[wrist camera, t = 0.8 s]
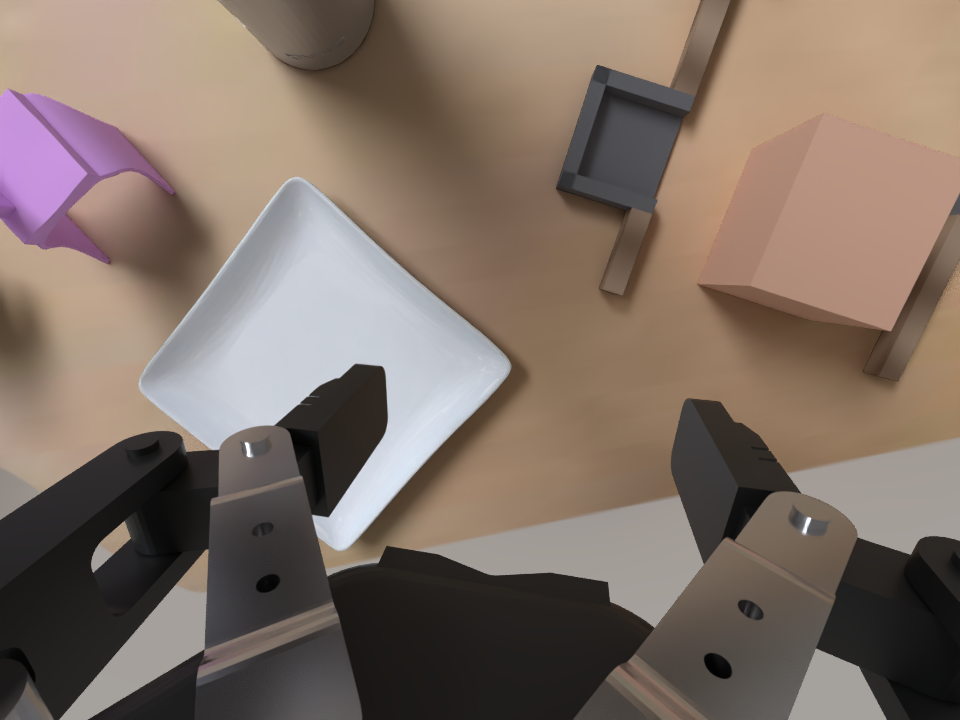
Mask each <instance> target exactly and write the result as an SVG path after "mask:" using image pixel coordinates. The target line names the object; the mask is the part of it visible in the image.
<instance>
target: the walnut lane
mask: <svg viewBox="0 0 960 720" xmlns="http://www.w3.org/2000/svg"><path fill="white" fill-rule="evenodd" d="M729 3H730V0H701V2H700V4H699V7H698V10H697V13H696V16H695V19H694V21H693V24H692V27H691V30H690V33H689V36H688V38H687V41H686V44H685V47H684V50H683V53H682V55H681V58H680V61H679V64H678V67H677V69H676V72H675V75H674V78H673V81H672V84H671V86H670V88H671V89H674V90H678V91H680V92H684V93H687V94H690V95H693V96H696V93H697V91H698V88H699V85H700V82H701V80H702V77H703V74H704V71H705V69H706V66H707V63H708V60H709V58H710V55H711V52H712V49H713V47H714V44H715V41H716V38H717V36H718V33H719V30H720V28H721V25H722V22H723V19H724V17H725V14H726V11H727V8H728V6H729ZM651 216H652V214H651V213H647V212H644V211H641V210H638V209H635V208H631V209H629V210H627V211H626V213H625V216H624V219H623V222H622V225H621V228H620V230H619V233H618V236H617V239H616V242H615V245H614V247H613V250H612V253H611V256H610V259H609V262H608V264H607V267H606V270H605V273H604V276H603V278H602V281H601V284H600V287H599V289H601V290H604V291H607V292H611V293H614V294H617V295H623V293H624V290H625V288H626V285H627V282H628V279H629V277H630V274H631V271H632V268H633V266H634V263H635V260H636V257H637V255H638V252H639V249H640V247H641V244H642V241H643V238H644V236H645V233H646V230H647V227H648V225H649V222H650V219H651ZM959 259H960V215H959V214H957V215H950V216H948V218H947V220H946V222H945V224H944V226H943V228H942V230H941V232H940V234H939V236H938V238H937V240H936V242H935V244H934V246H933V248H932V250H931V252H930V254H929V256H928V258H927V260H926V262H925V264H924V266H923V268H922V270H921V272H920V274H919V276H918V278H917V280H916V282H915V284H914V286H913V288H912V290H911V292H910V294H909V296H908V298H907V300H906V302H905V304H904V306H903V308H902V310H901V312H900V314H899V316H898V318H897V320H896V322H895V324H894V326H893V328H892V330H891V331H884V330H883V331H882V333H881V335H880V337H879V339H878V342H877V344H876V346H875V348H874V350H873V352H872V354H871V356H870V358H869V360H868V362H867V364H866V366H865V368H864V370H863V372H866V373H869V374H872V375H876V376H879V377H882V378H886V379H890V380H893V381H897V382H898V381H899V379H900V377H901V375H902V373H903V371H904V369H905V367H906V365H907V363H908V361H909V359H910V357H911V355H912V353H913V351H914V349H915V347H916V345H917V343H918V341H919V339H920V337H921V335H922V333H923V331H924V329H925V327H926V325H927V323H928V321H929V319H930V317H931V315H932V313H933V311H934V309H935V307H936V305H937V303H938V301H939V299H940V297H941V295H942V293H943V291H944V289H945V287H946V285H947V283H948V281H949V279H950V277H951V275H952V273H953V271H954V269H955V267H956V265H957V263H958V261H959Z"/></svg>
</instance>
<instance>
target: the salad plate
mask: <svg viewBox="0 0 960 720" xmlns="http://www.w3.org/2000/svg"><path fill="white" fill-rule="evenodd" d="M356 363H357V364H367V365H376V366H382V367H383V368H384V370H385V374H386V389H387V407H388V423H387V428H386V432H385V434H384V437H383V438H382V440H381V441H380V443H379V444H378V446H377V447H376V449H375V450H374V452H373V453H372V454H371V456H370V457H369V459H368V460H367V462H366V463H365V465H364V466H363V468H362V469H361V471H360V472H359V474H358V475H357V477H356V478H355V480H354V481H353V482H352V484H351V485H350V487H349V488H348V490H347V491H346V493H345V494H344V496H343V497H342V499H341V500H340V502H339V503H338V505H337V506H336V508H335V509H334V510H333V512H332V513H331V515H330V516H329V518H328V517H322V516H316V515H312V517H313V521H314V526H315V530H316V534H317V537H319V538H320V539H321V540H322V541H324V542H325V543H326V544H328V545H329V546H330V547H332V548H333V549H335V550H337V551H344V550H347V549H348V548H349V547H351V546H352V545H353V544H354V543H355V542H356V541H357V539H358V538H359V537H360V536H361V535H362V534H363V533H364V532H365V531H366V530H367V528H368V527H369V526H370V525H371V524H372V523H373V522H374V520H375V519H376V518H377V517H378V516H379V515H380V513H381V512H382V511H383V510H384V509H385V508H386V506H387V505H388V504H389V503H390V502H391V501H392V500H393V498H394V497H395V496H396V495H397V494H398V493H399V492H400V490H401V489H402V488H403V487H404V486H405V485H406V484H407V483H408V481H409V480H410V479H411V478H412V477H413V476H414V475H415V474H416V472H417V471H418V470H419V469H420V468H421V467H422V466H423V465H424V464H425V463H426V461H427V460H428V459H429V458H430V457H431V456H432V455H433V454H434V453H435V452H436V451H437V450H438V449H439V447H440V446H441V445H442V444H443V443H444V442H445V441H446V440H447V439H448V438H449V437H450V436H451V435H452V434H453V433H454V432H455V431H456V430H457V429H458V428H459V427H460V426H461V425H462V424H463V423H464V422H465V421H466V420H468V419H469V418H470V417H471V416H472V415H473V414H474V413H475V412H476V411H477V410H478V409H479V408H480V407H481V406H482V405H483V404H484V403H485V402H486V401H487V400H488V399H489V398H490V396H491V395H492V394H493V393H494V392H495V391H496V390H497V389H498V388H499V386H500V385H501V384H502V383H503V382H504V381H505V379H506V378H507V377H508V375H509V373H510V371H511V368H512V366H511V363H510V361H509V359H508V358H507V356H506V355H505V354H504V353H503V352H502V351H501V350H500V349H499V348H498V347H497V346H496V345H495V344H494V343H492V342H491V341H490V340H489V339H488V338H487V337H486V336H485V335H483V334H482V333H481V332H480V331H479V330H477V329H476V328H475V327H473V326H472V325H471V324H470V323H469V322H468V321H466V320H465V319H464V318H463V317H461V316H460V315H459V314H458V313H456V312H455V311H454V310H453V309H451V308H450V307H449V306H448V305H447V304H445V303H444V302H443V301H442V300H441V299H439V298H438V297H437V296H436V295H435V294H433V293H432V292H431V291H430V290H429V289H427V288H426V287H425V286H424V285H423V284H421V283H420V282H419V281H418V280H417V279H415V278H414V277H413V276H412V275H411V274H410V273H409V272H407V271H406V270H405V269H404V268H403V267H402V266H401V265H400V264H398V263H397V262H396V261H395V260H394V259H393V258H392V257H391V256H390V255H388V254H387V253H386V252H385V251H384V250H383V249H382V248H381V247H380V246H379V245H378V244H376V243H375V242H374V241H373V240H372V239H371V238H370V237H369V236H368V235H367V234H366V233H365V232H364V231H363V230H362V229H360V228H359V227H358V226H357V225H356V224H355V223H354V222H353V221H352V220H351V219H350V218H349V217H348V216H347V215H346V214H345V213H344V212H343V211H342V210H341V209H340V208H339V207H337V206H336V205H335V204H334V203H333V202H332V201H331V200H330V199H329V198H328V197H327V196H326V195H325V194H323V193H322V192H321V191H320V190H319V189H318V188H317V187H315V186H314V185H313V184H311V183H310V182H309V181H307V180H305V179H303V178H301V177H293V178H290V179H289V180H287V181H286V182H285V183H284V184H283V185H282V186H281V188H280V189H279V190H278V191H277V193H276V194H275V195H274V196H273V198H272V199H271V200H270V202H269V203H268V204H267V206H266V207H265V208H264V210H263V211H262V213H261V214H260V215H259V217H258V218H257V220H256V221H255V222H254V224H253V225H252V227H251V228H250V229H249V231H248V232H247V234H246V235H245V237H244V238H243V239H242V241H241V242H240V243H239V245H238V246H237V247H236V249H235V250H234V252H233V253H232V254H231V256H230V257H229V258H228V260H227V261H226V262H225V264H224V265H223V267H222V268H221V269H220V271H219V272H218V274H217V275H216V276H215V278H214V279H213V280H212V282H211V283H210V284H209V286H208V287H207V289H206V290H205V291H204V293H203V294H202V295H201V297H200V298H199V299H198V301H197V302H196V303H195V305H194V306H193V307H192V308H191V309H190V311H189V312H188V313H187V315H186V316H185V317H184V318H183V320H182V321H181V322H180V324H179V325H178V326H177V327H176V329H175V330H174V331H173V332H172V334H171V335H170V336H169V337H168V339H167V340H166V341H165V343H164V344H163V345H162V346H161V348H160V349H159V350H158V351H157V353H156V354H155V355H154V356H153V358H152V359H151V361H150V362H149V363H148V365H147V366H146V368H145V369H144V371H143V373H142V375H141V377H140V380H139V388H140V391H141V392H142V393H143V394H144V395H145V397H147V398H148V399H149V400H150V401H151V402H152V403H153V404H154V405H156V406H157V407H158V408H159V409H161V410H162V411H163V412H164V413H165V414H167V415H168V416H169V417H170V418H172V419H173V420H174V421H175V422H177V423H178V424H179V425H181V426H182V427H183V428H184V429H186V430H187V431H188V432H189V433H191V434H192V435H193V436H195V437H196V438H197V439H198V440H200V441H201V442H202V443H203V444H205V445H206V446H207V447H208V448H210V449H211V450H219V449H220V446H221V444H222V443H223V442H224V441H225V440H226V439H227V438H228V437H230V436H231V435H233V434H235V433H237V432H239V431H241V430H244V429H247V428H251V427H256V426H265V425H271V426H274V425H275V424H276V423H278V422H279V421H280V420H281V419H282V418H283V417H284V416H286V415H287V414H288V413H289V412H290V411H291V410H292V409H293V408H295V407H296V406H297V405H298V404H299V405H300V402H301V401H303V400H304V399H305V398H306V397H309V394H311V393H312V392H313V391H314V390H315V389H316V388H317V387H318V386H320V385H322V384H324V383H326V382H328V381H331V380H333V379H335V378H340V377H341V376H342V375H343V374H344V373H346V372H347V371H348V370H349V369H350V368H351V367H352V366H353V365H354V364H356Z"/></svg>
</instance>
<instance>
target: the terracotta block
mask: <svg viewBox="0 0 960 720" xmlns="http://www.w3.org/2000/svg"><path fill="white" fill-rule="evenodd" d="M959 194H960V158H959V157H956V156H953V155H950V154H947V153H944V152H941V151H938V150H935V149H932V148H929V147H926V146H923V145H919V144H916V143H913V142H910V141H907V140H904V139H901V138H898V137H895V136H892V135H889V134H886V133H883V132H880V131H877V130H874V129H871V128H868V127H865V126H862V125H859V124H856V123H853V122H850V121H847V120H844V119H841V118H838V117H835V116H832V115H829V114H826V113H823V114H821V115H819V116H817V117H815V118H813V119H811V120H809V121H807V122H805V123H803V124H801V125H799V126H797V127H795V128H793V129H791V130H789V131H787V132H785V133H783V134H781V135H779V136H777V137H775V138H773V139H771V140H769V141H767V142H765V143H763V144H761V145H759V146H757V147H755V148H753V149H751V152H750V154H749V157H748V159H747V162H746V164H745V167H744V169H743V172H742V174H741V177H740V179H739V182H738V184H737V186H736V189H735V191H734V194H733V196H732V199H731V201H730V204H729V206H728V209H727V211H726V214H725V216H724V219H723V221H722V224H721V226H720V229H719V231H718V233H717V236H716V238H715V241H714V243H713V246H712V248H711V251H710V253H709V256H708V258H707V261H706V263H705V266H704V268H703V271H702V273H701V276H700V278H699V281H698V283H697V284H699V285H702V286H705V287H708V288H711V289H715V290H718V291H721V292H724V293H727V294H730V295H733V296H736V297H739V298H742V299H745V300H749V301H752V302H755V303H758V304H761V305H764V306H767V307H770V308H773V309H776V310H779V311H783V312H786V313H789V314H792V315H795V316H798V317H801V318H804V319H807V320H813V321H820V322H827V323H834V324H841V325H849V326H856V327H863V328H870V329H877V330H884V331H891V330H892V328H893V326H894V324H895V322H896V320H897V318H898V316H899V314H900V312H901V310H902V308H903V306H904V304H905V302H906V300H907V298H908V296H909V294H910V292H911V290H912V288H913V286H914V284H915V282H916V280H917V278H918V276H919V274H920V272H921V270H922V268H923V266H924V264H925V262H926V260H927V258H928V256H929V254H930V252H931V250H932V248H933V246H934V244H935V242H936V240H937V238H938V236H939V234H940V232H941V230H942V228H943V226H944V224H945V222H946V220H947V218H948V216H949V214H950V212H951V210H952V208H953V206H954V204H955V202H956V200H957V198H958V196H959Z"/></svg>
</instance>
